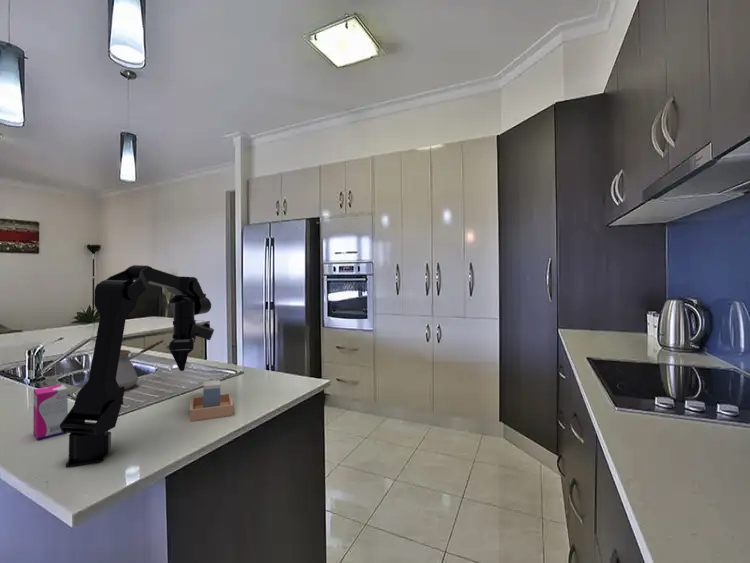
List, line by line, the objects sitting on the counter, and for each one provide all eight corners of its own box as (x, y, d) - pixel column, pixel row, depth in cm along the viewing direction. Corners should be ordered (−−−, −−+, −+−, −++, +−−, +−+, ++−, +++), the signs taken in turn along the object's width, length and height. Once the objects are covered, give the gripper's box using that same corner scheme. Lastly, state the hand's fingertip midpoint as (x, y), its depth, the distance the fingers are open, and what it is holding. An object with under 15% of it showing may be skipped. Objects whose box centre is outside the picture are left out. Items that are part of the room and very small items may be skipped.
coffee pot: (107, 396, 116) (108, 350, 116) (91, 389, 122) (92, 346, 122) (172, 380, 135) (173, 341, 134) (156, 375, 141) (157, 338, 140)
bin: (189, 421, 99) (190, 410, 99) (191, 407, 109) (191, 397, 109) (232, 415, 104) (233, 405, 103) (230, 402, 114) (230, 393, 114)
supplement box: (62, 426, 93) (63, 383, 93) (67, 433, 89) (68, 388, 89) (32, 433, 89) (33, 388, 89) (36, 441, 85) (37, 393, 85)
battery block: (202, 413, 103) (203, 386, 103) (203, 407, 107) (203, 381, 107) (219, 411, 105) (220, 384, 105) (219, 406, 109) (219, 380, 109)
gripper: (212, 320, 105) (211, 372, 105) (212, 313, 121) (211, 358, 122) (169, 321, 100) (168, 376, 100) (175, 313, 117) (174, 360, 117)
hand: (183, 366), depth 110 cm, fingers open, 9 cm apart
